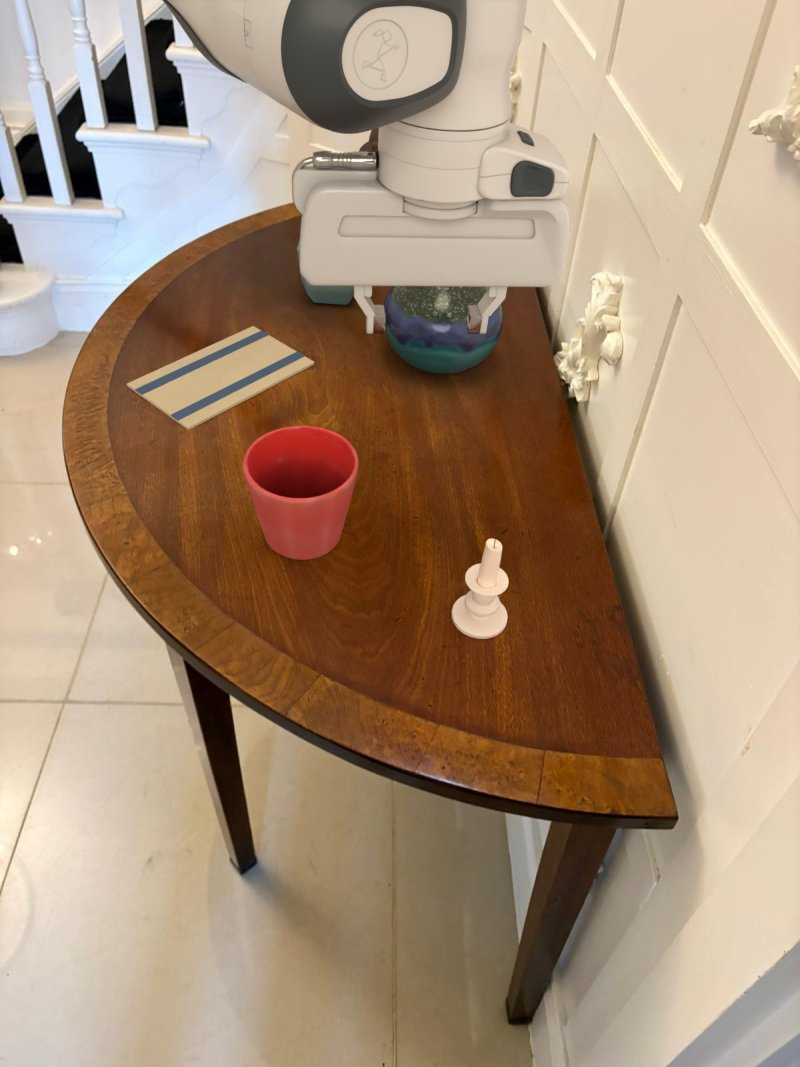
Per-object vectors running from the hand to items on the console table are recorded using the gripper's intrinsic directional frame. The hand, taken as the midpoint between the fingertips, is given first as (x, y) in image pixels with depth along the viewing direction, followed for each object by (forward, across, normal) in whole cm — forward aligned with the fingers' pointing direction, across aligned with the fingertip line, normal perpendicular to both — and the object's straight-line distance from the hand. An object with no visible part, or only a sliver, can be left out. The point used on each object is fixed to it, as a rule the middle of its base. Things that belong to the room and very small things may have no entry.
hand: (425, 330), depth 64 cm
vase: (+24, +7, +32) cm, 41 cm away
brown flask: (+24, +2, +65) cm, 69 cm away
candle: (+24, +6, -12) cm, 27 cm away
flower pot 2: (+24, -11, 0) cm, 26 cm away
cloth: (+23, -20, +28) cm, 42 cm away
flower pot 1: (+24, -6, +48) cm, 54 cm away
